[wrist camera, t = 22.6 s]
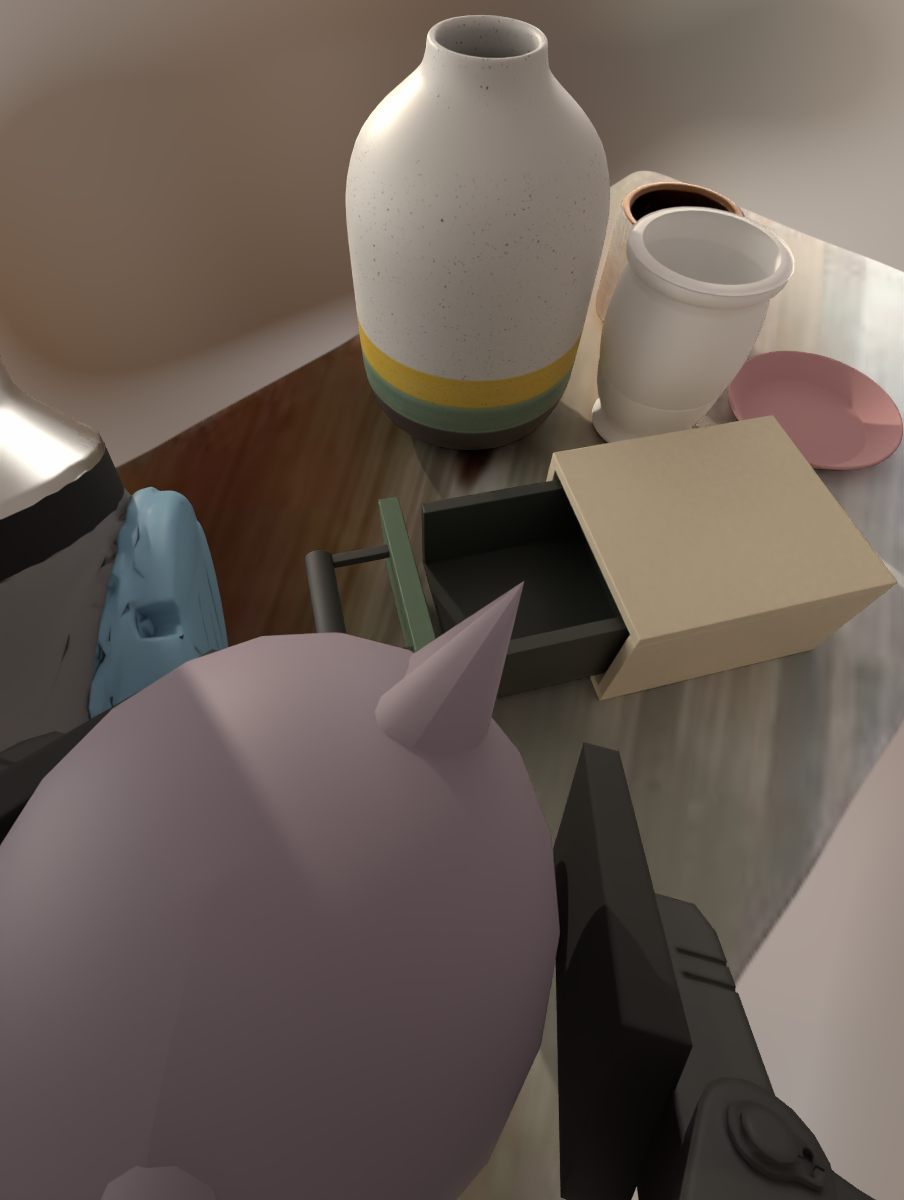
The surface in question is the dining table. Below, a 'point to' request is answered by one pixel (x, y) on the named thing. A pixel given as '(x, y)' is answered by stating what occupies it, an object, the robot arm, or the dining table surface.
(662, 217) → the jar
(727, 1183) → the robot arm
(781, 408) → the plate
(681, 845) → the dining table surface
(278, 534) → the dining table surface
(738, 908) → the dining table surface
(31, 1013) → the cat figurine
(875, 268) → the dining table surface
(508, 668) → the drawer
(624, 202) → the planter
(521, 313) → the vase
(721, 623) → the cabinet
